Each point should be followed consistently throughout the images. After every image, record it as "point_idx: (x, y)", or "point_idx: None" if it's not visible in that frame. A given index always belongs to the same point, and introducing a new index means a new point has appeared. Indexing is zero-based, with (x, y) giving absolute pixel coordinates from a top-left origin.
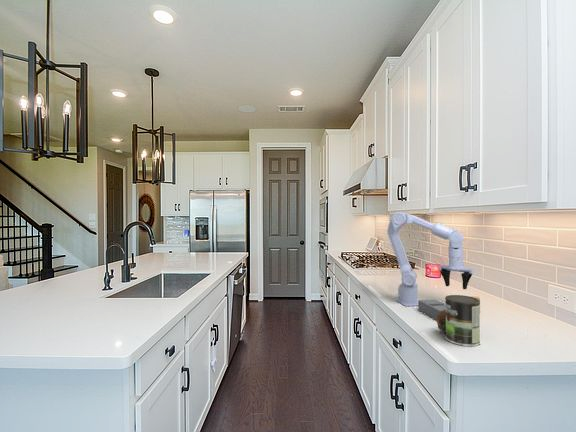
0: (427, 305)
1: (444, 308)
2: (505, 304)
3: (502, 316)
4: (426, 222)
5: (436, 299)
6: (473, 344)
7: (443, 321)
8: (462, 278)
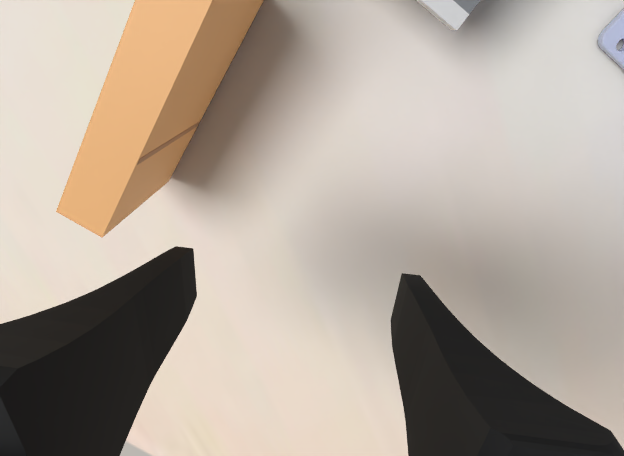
0: None
1: None
2: (167, 424)
3: (38, 204)
4: None
5: (454, 16)
6: None
7: None
8: (91, 325)
